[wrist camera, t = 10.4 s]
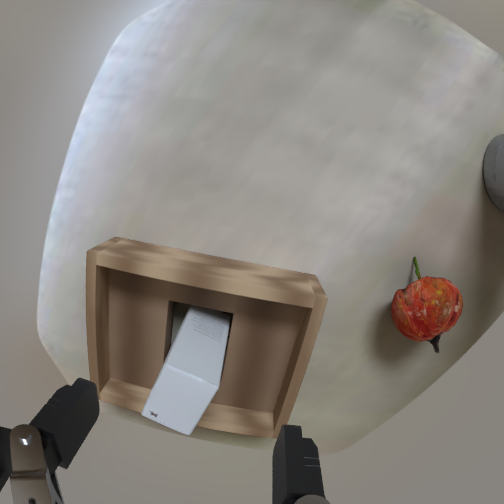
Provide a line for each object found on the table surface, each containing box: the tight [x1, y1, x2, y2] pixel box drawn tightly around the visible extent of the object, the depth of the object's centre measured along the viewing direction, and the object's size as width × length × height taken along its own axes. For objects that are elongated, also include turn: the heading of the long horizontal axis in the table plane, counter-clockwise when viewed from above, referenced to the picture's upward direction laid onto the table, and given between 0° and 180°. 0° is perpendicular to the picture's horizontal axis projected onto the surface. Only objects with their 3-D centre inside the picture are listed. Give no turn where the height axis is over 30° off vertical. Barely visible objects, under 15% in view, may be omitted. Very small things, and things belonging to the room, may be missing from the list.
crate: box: [86, 237, 328, 438], centre depth 29 cm, size 20×16×6 cm
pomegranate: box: [391, 257, 463, 353], centre depth 28 cm, size 7×7×10 cm
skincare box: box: [141, 305, 231, 435], centre depth 26 cm, size 6×4×12 cm
